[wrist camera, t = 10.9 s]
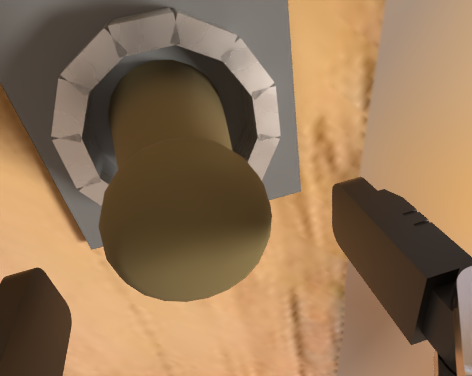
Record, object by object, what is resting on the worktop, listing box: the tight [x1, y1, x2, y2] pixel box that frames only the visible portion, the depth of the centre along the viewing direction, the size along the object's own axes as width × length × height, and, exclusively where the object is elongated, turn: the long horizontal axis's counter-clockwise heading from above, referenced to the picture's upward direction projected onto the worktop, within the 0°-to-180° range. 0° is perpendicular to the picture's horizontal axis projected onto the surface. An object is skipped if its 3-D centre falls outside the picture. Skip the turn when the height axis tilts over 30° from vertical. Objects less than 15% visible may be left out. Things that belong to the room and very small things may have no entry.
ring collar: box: [51, 7, 281, 206], centre depth 17 cm, size 10×10×2 cm
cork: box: [98, 60, 272, 302], centre depth 14 cm, size 6×6×11 cm
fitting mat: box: [0, 0, 301, 250], centre depth 19 cm, size 14×14×1 cm
